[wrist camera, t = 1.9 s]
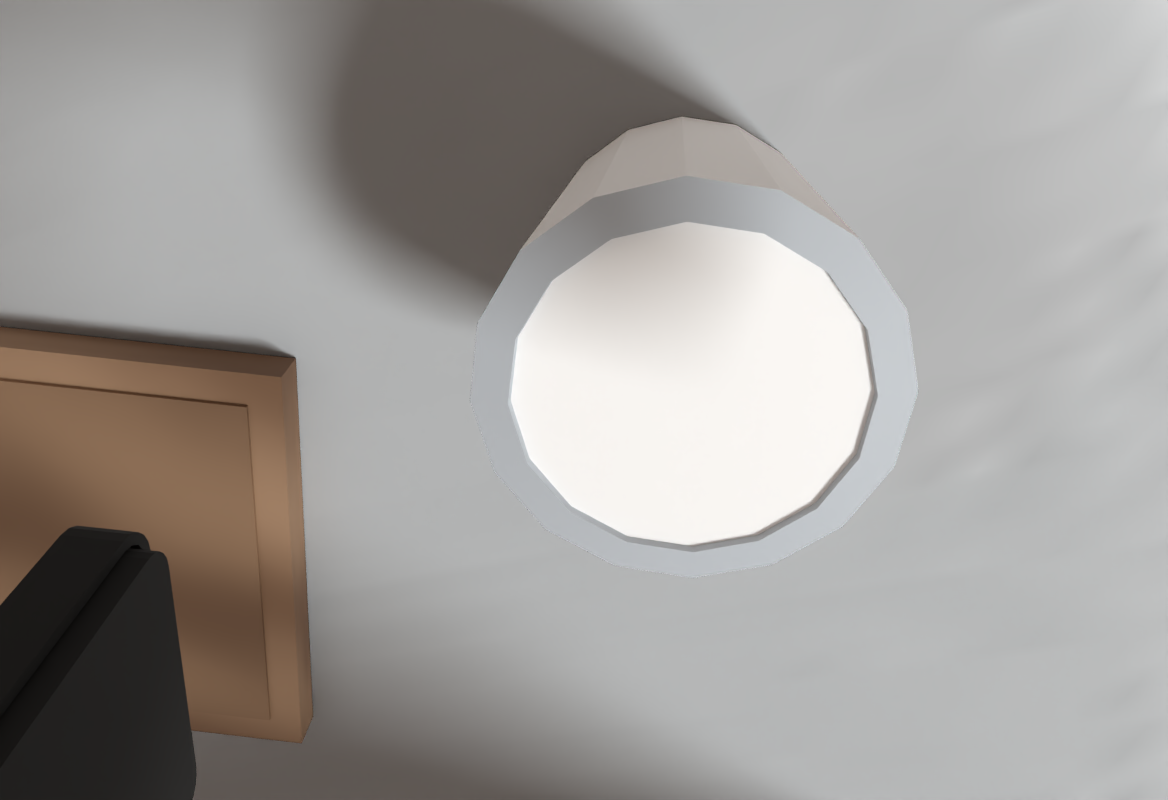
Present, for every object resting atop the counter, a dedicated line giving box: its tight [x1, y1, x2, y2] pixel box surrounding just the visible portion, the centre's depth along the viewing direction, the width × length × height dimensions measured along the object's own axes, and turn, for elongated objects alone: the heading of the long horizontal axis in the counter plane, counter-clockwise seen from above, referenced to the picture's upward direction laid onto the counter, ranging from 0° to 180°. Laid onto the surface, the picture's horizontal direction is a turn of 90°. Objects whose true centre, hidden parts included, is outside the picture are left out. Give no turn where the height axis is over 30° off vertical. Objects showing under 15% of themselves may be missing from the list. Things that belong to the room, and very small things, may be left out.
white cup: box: [470, 117, 918, 578], centre depth 19 cm, size 7×7×7 cm
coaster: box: [0, 327, 313, 743], centre depth 26 cm, size 11×11×1 cm
